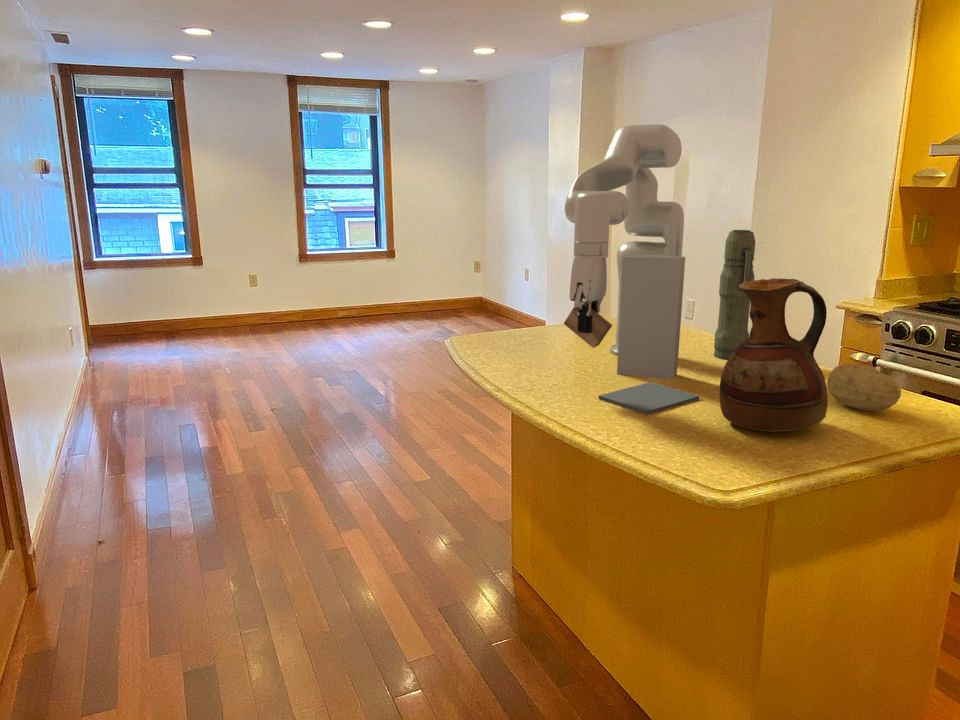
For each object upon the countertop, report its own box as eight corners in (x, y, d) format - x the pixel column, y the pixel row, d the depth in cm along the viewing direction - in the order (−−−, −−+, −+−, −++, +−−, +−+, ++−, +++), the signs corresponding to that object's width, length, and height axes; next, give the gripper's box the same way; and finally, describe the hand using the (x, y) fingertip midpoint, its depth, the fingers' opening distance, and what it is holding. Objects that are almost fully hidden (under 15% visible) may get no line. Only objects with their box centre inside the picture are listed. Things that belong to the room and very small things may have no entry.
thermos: (732, 350, 201) (743, 228, 192) (756, 360, 190) (769, 231, 181) (704, 352, 199) (714, 229, 190) (727, 362, 188) (739, 232, 179)
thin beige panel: (677, 374, 177) (685, 256, 169) (673, 380, 172) (681, 259, 164) (622, 368, 182) (627, 254, 175) (616, 373, 178) (622, 256, 170)
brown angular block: (569, 321, 161) (582, 301, 158) (598, 345, 158) (612, 325, 155) (563, 323, 159) (576, 302, 156) (593, 347, 156) (607, 327, 153)
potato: (858, 397, 158) (864, 357, 155) (903, 418, 144) (910, 374, 141) (817, 399, 157) (822, 359, 154) (858, 420, 143) (865, 376, 140)
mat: (650, 385, 168) (650, 381, 167) (699, 399, 157) (699, 395, 157) (598, 398, 157) (598, 395, 157) (646, 415, 146) (647, 411, 146)
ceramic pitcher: (705, 409, 150) (716, 271, 143) (799, 409, 150) (815, 271, 142) (734, 442, 131) (749, 285, 124) (842, 443, 131) (864, 285, 123)
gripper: (591, 246, 161) (588, 323, 166) (558, 252, 148) (556, 335, 153) (621, 247, 157) (617, 326, 162) (590, 254, 144) (587, 340, 149)
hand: (587, 330), depth 157 cm, fingers closed on brown angular block, 2 cm apart
